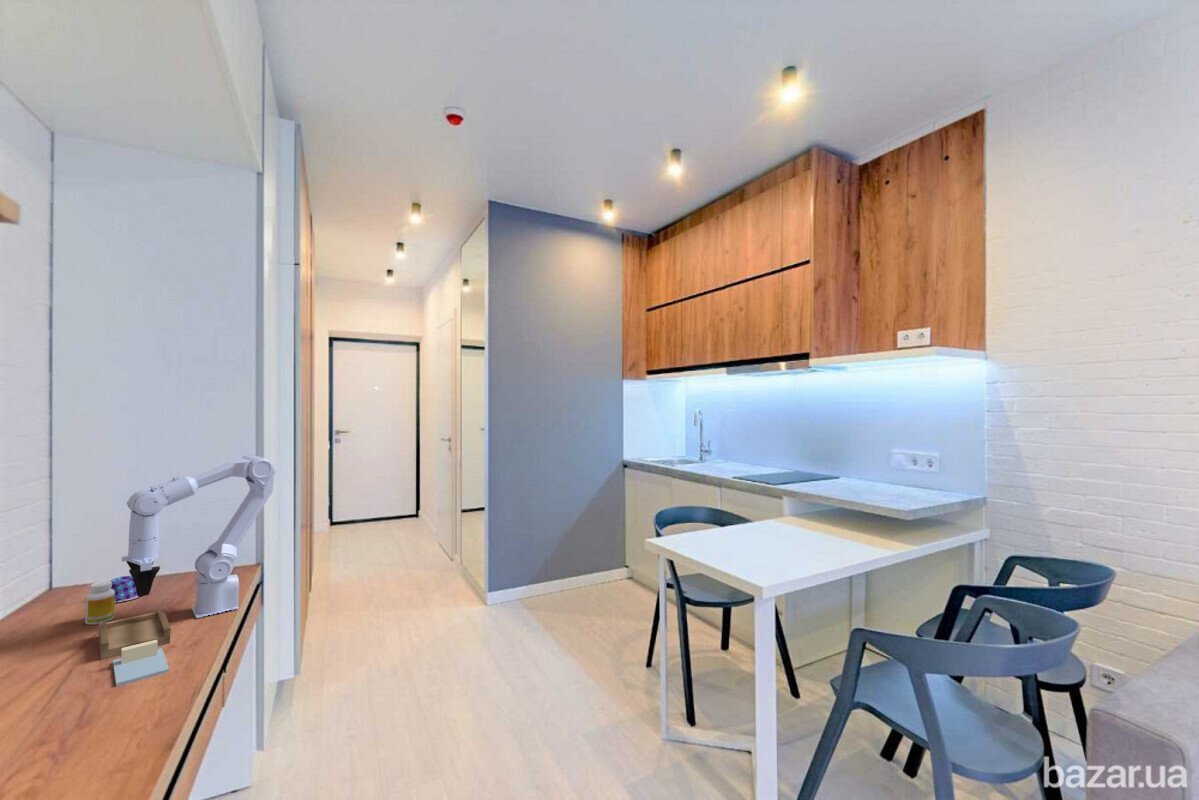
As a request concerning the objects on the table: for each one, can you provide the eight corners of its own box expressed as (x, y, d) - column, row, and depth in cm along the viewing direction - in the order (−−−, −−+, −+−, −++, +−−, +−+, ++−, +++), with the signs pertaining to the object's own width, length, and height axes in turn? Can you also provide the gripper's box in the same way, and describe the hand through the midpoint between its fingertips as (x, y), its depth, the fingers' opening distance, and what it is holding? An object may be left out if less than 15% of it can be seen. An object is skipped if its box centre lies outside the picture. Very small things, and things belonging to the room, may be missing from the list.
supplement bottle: (118, 618, 133) (119, 582, 132) (90, 627, 128) (92, 589, 128) (108, 614, 135) (109, 578, 135) (80, 621, 130) (82, 584, 130)
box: (162, 622, 132) (163, 608, 132) (169, 643, 122) (170, 628, 122) (98, 636, 123) (99, 622, 123) (100, 660, 114) (101, 644, 114)
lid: (161, 652, 119) (162, 635, 119) (168, 674, 111) (169, 655, 111) (112, 665, 113) (113, 646, 113) (116, 689, 105) (116, 669, 105)
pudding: (119, 587, 152) (120, 570, 152) (160, 589, 152) (161, 572, 152) (80, 604, 140) (80, 586, 140) (124, 606, 140) (125, 587, 140)
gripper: (120, 533, 130) (118, 585, 130) (124, 548, 120) (122, 604, 120) (156, 529, 135) (154, 579, 135) (163, 542, 125) (161, 596, 125)
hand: (141, 590), depth 128 cm, fingers open, 7 cm apart
